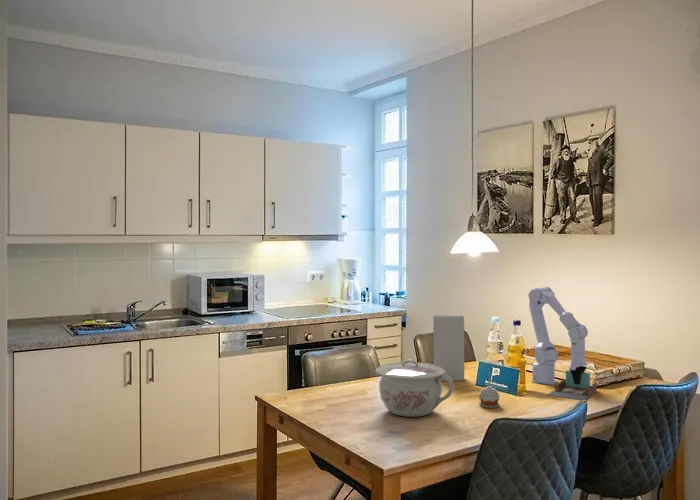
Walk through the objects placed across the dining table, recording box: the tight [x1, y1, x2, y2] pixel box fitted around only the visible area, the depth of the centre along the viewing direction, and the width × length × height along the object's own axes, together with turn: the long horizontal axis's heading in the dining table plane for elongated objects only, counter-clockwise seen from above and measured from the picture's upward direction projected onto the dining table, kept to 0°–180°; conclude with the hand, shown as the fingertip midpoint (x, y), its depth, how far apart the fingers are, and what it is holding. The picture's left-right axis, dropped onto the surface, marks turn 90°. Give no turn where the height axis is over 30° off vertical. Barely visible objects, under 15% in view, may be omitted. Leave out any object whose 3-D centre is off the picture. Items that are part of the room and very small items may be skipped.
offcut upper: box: [561, 388, 586, 396], centre depth 271 cm, size 9×5×1 cm, turn 50°
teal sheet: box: [565, 370, 591, 389], centre depth 275 cm, size 10×2×8 cm, turn 53°
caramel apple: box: [478, 368, 500, 409], centre depth 252 cm, size 8×8×15 cm
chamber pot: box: [375, 359, 455, 418], centre depth 244 cm, size 28×28×21 cm
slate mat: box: [546, 390, 591, 401], centre depth 265 cm, size 16×7×1 cm, turn 53°
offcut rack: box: [554, 379, 598, 397], centre depth 273 cm, size 14×11×3 cm
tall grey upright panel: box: [432, 315, 465, 381], centre depth 297 cm, size 14×6×30 cm, turn 84°
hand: (577, 383), depth 275 cm, fingers closed on teal sheet, 2 cm apart
